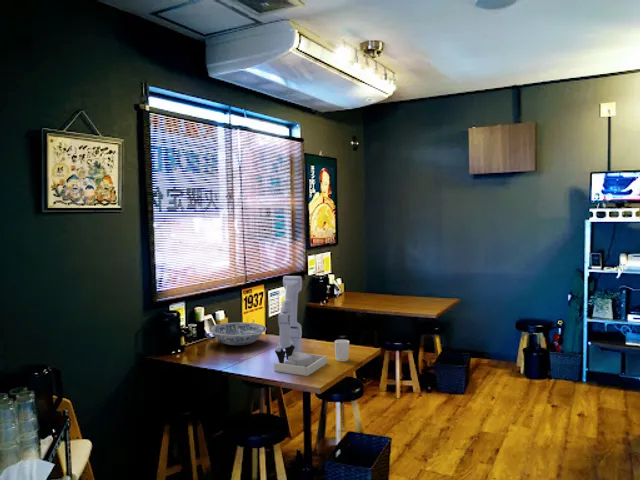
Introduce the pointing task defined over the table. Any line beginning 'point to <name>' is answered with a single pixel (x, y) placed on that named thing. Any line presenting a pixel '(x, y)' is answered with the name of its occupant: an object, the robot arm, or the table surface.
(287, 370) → the box
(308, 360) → the charger
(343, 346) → the white cup
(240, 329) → the ceramic bowl
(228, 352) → the table surface
